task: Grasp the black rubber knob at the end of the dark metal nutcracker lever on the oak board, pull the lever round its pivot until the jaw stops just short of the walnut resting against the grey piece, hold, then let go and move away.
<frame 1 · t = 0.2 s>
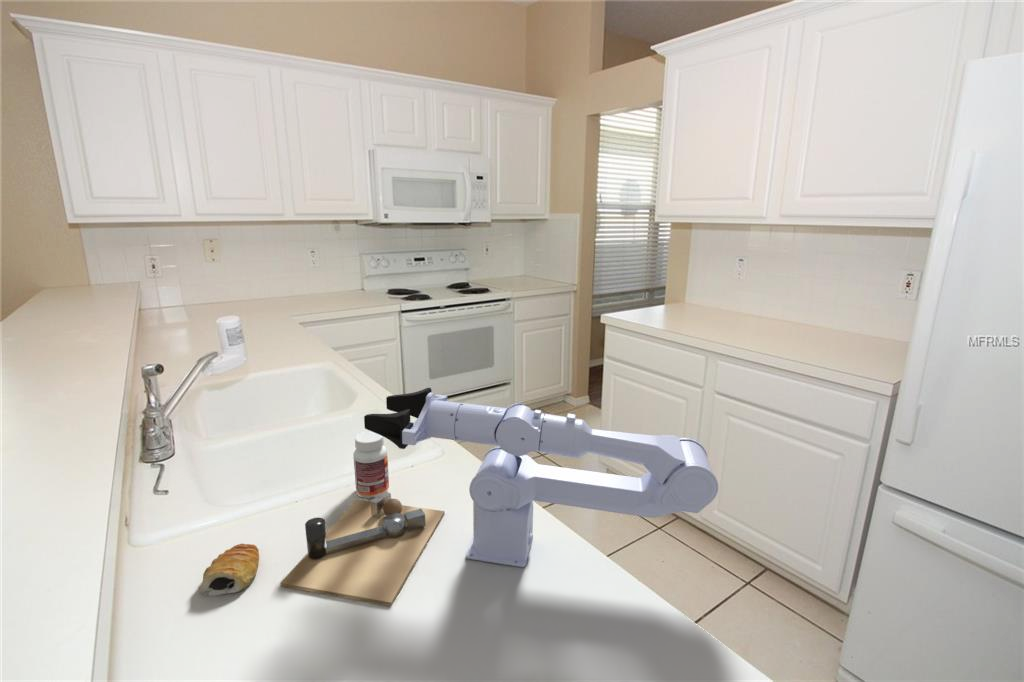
hand: (376, 411, 79), 22 cm above the counter, tool horizontal, fingers open, 7 cm apart
pill bottle: (372, 491, 97), on the counter
walnut: (392, 508, 87), point 2 cm above the counter, touching board
pastry: (233, 578, 74), on the counter
grey piece: (381, 515, 89), resting on board
lever: (368, 524, 80), point 4 cm above the counter, hinge at 0.0°
board: (371, 546, 81), on the counter
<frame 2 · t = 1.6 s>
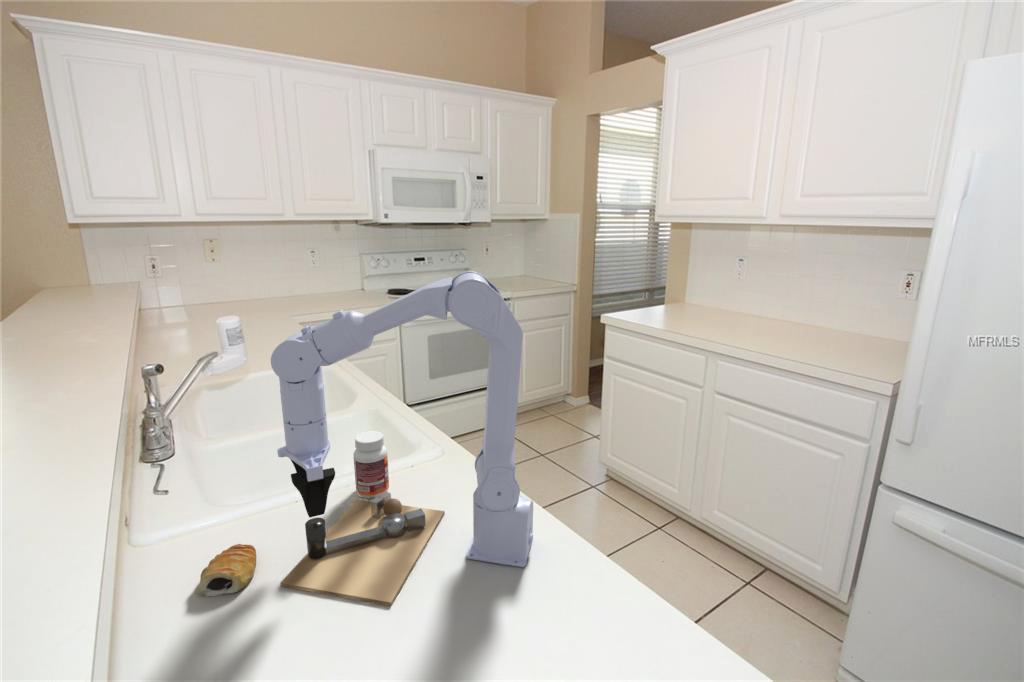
hand: (312, 501, 75), 10 cm above the counter, tool pointing down, fingers open, 7 cm apart
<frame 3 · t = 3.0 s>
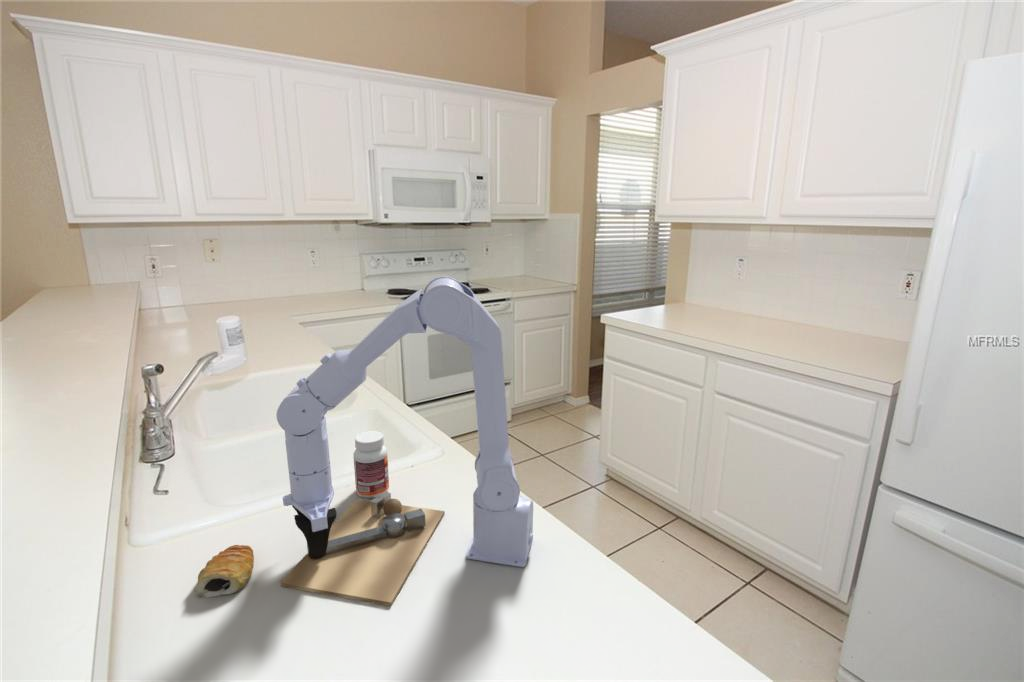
hand: (317, 545, 77), 2 cm above the counter, tool pointing down, fingers closed on lever, 3 cm apart
lever: (368, 524, 80), point 4 cm above the counter, hinge at 0.0°, touching gripper
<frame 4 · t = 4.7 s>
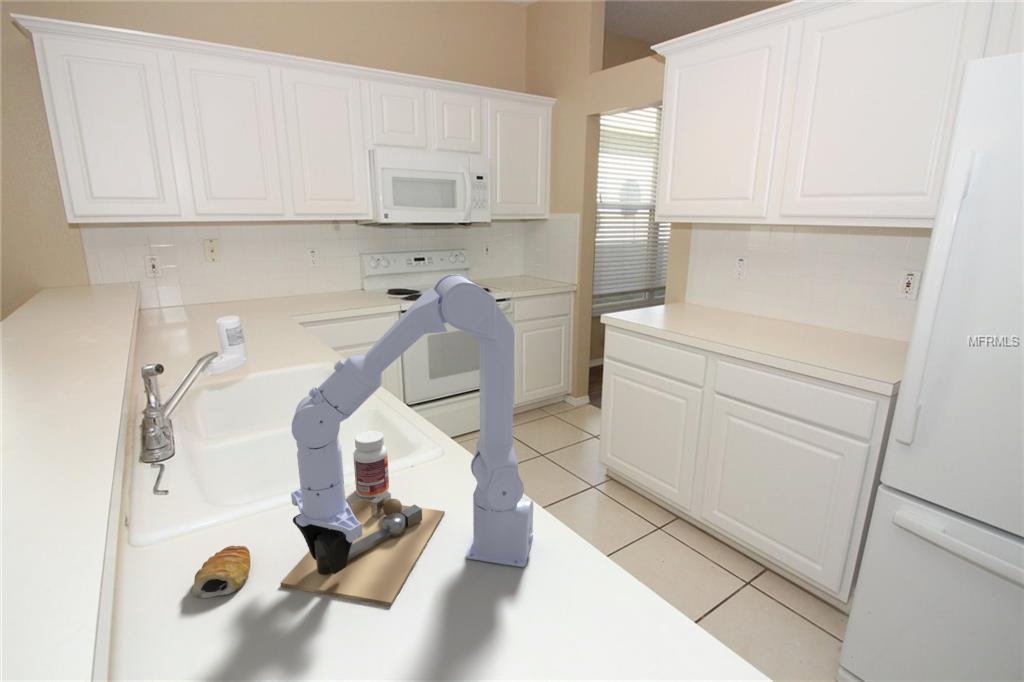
hand: (329, 562, 73), 2 cm above the counter, tool pointing down, fingers open, 4 cm apart
lever: (371, 528, 79), point 4 cm above the counter, hinge at 20.3°, touching gripper
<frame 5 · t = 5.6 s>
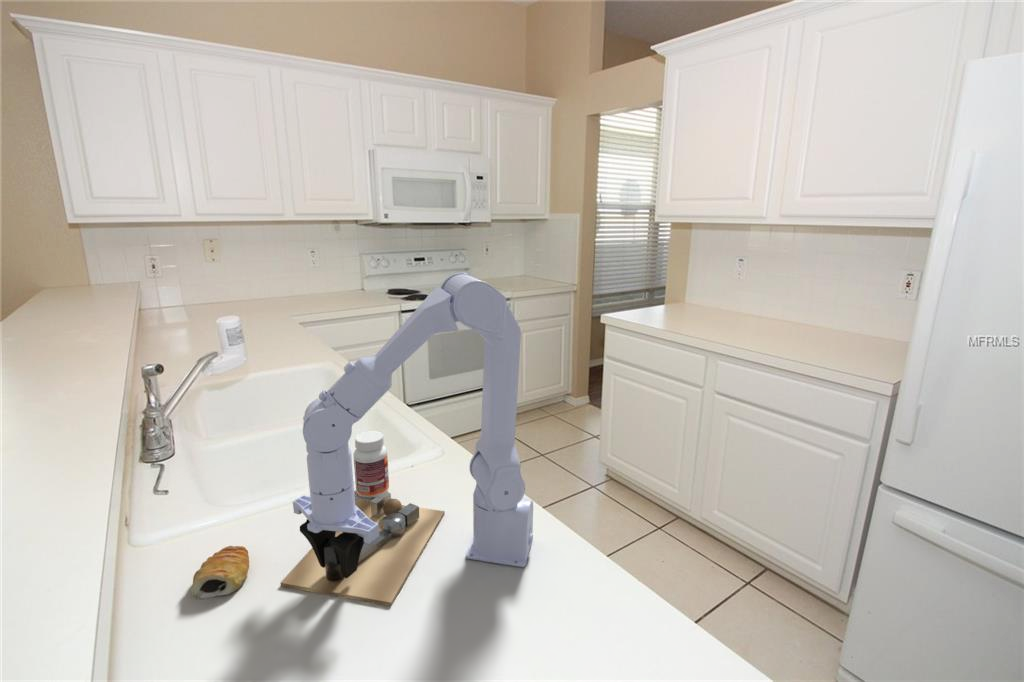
hand: (338, 568, 72), 2 cm above the counter, tool pointing down, fingers open, 4 cm apart
lever: (374, 530, 79), point 4 cm above the counter, hinge at 30.8°, touching gripper
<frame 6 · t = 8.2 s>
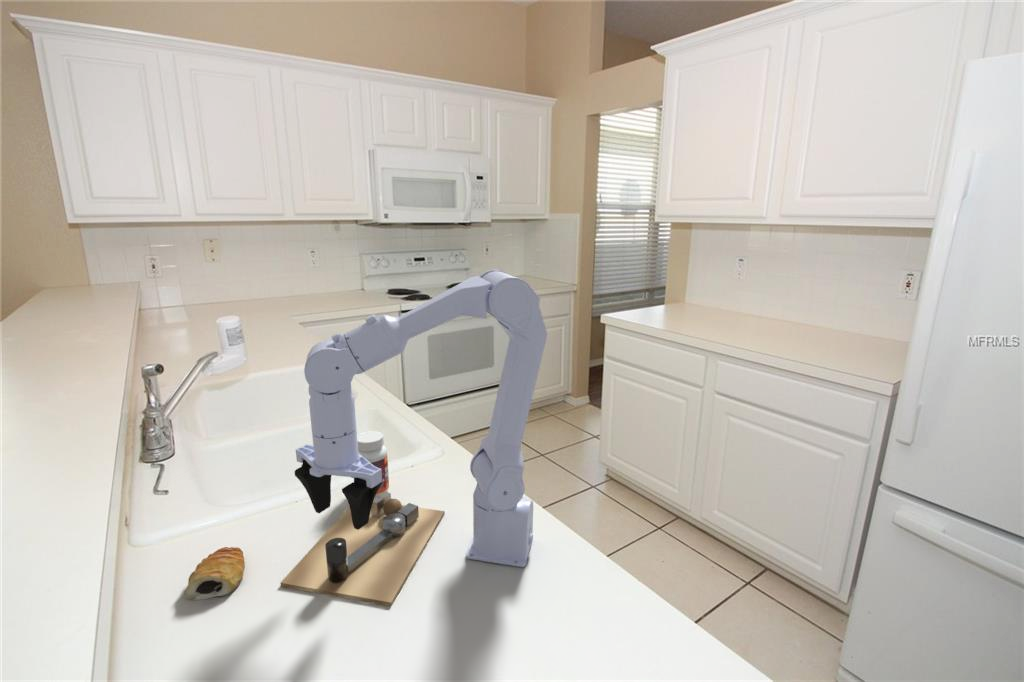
hand: (341, 517, 71), 10 cm above the counter, tool pointing down, fingers open, 7 cm apart
lever: (375, 530, 79), point 4 cm above the counter, hinge at 32.9°
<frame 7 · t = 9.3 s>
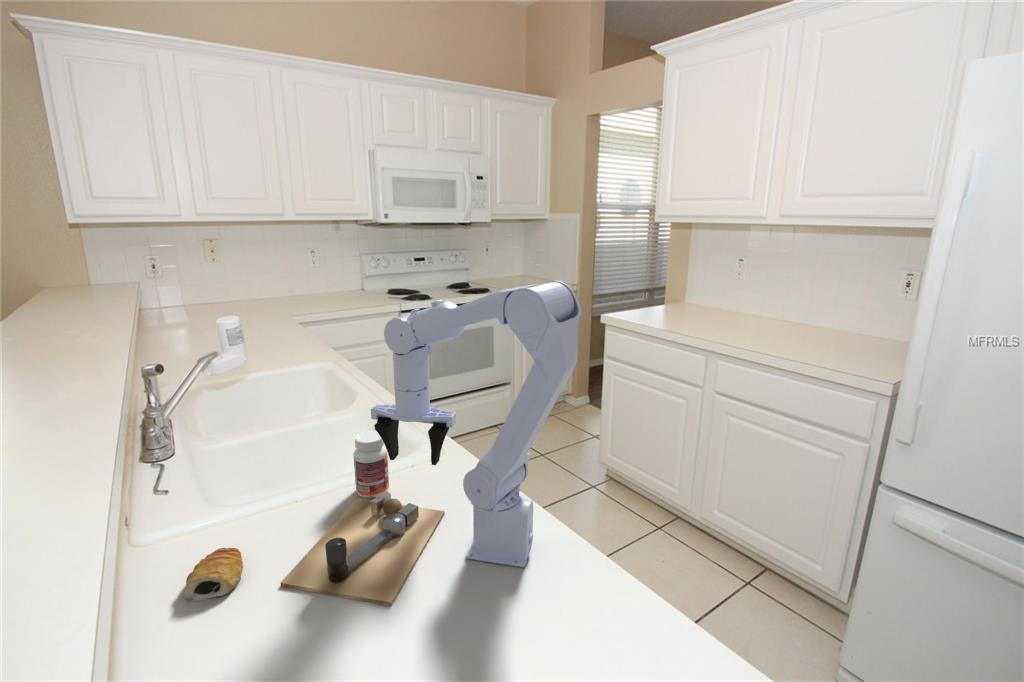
hand: (414, 459, 87), 10 cm above the counter, tool pointing down, fingers open, 7 cm apart
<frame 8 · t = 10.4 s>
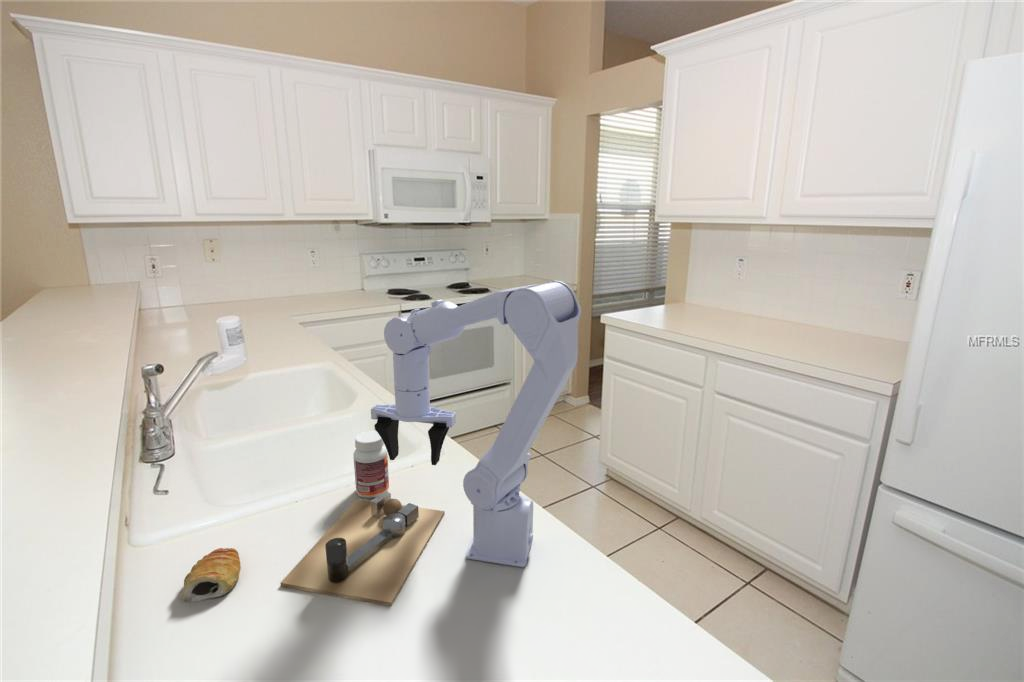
hand: (414, 459, 87), 10 cm above the counter, tool pointing down, fingers open, 7 cm apart
at the end: lever at +33° (first picture: +0°); walnut moved 0.1 cm from its start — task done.
